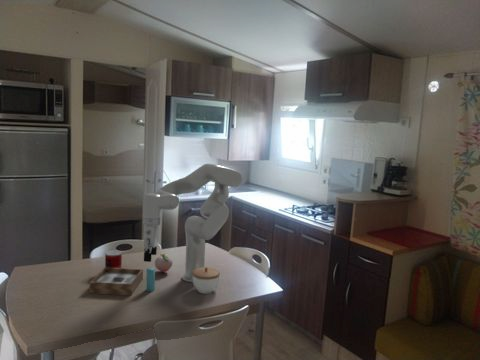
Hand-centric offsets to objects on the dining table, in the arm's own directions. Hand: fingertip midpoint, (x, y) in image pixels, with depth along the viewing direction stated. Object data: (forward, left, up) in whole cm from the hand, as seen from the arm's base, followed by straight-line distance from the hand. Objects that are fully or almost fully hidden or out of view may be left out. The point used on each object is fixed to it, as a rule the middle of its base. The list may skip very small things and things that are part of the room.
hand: (150, 257), depth 176 cm
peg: (0, 0, -15) cm, 15 cm away
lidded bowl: (-25, -3, -16) cm, 30 cm away
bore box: (+16, -3, -15) cm, 22 cm away
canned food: (+23, -17, -16) cm, 33 cm away
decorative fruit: (-1, -22, -16) cm, 27 cm away
